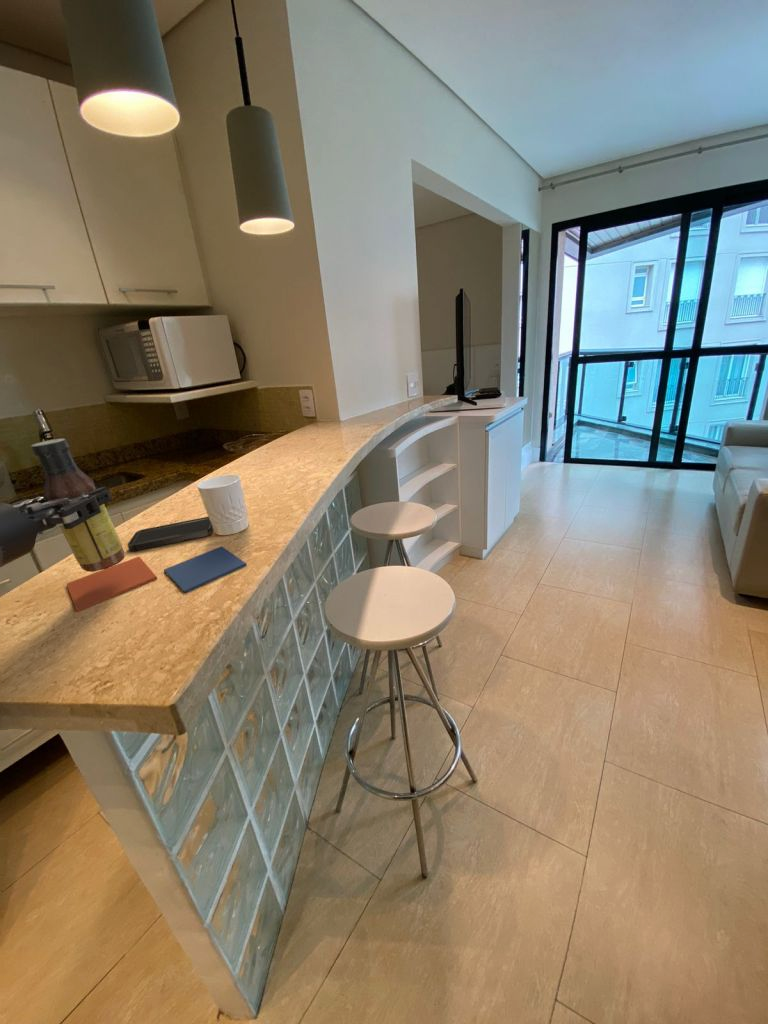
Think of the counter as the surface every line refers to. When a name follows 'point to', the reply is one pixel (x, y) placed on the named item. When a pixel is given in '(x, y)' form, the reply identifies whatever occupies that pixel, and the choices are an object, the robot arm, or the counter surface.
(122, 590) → the terracotta mat
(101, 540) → the sauce bottle
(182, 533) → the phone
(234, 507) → the white cup
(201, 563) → the slate-blue mat
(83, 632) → the counter surface
